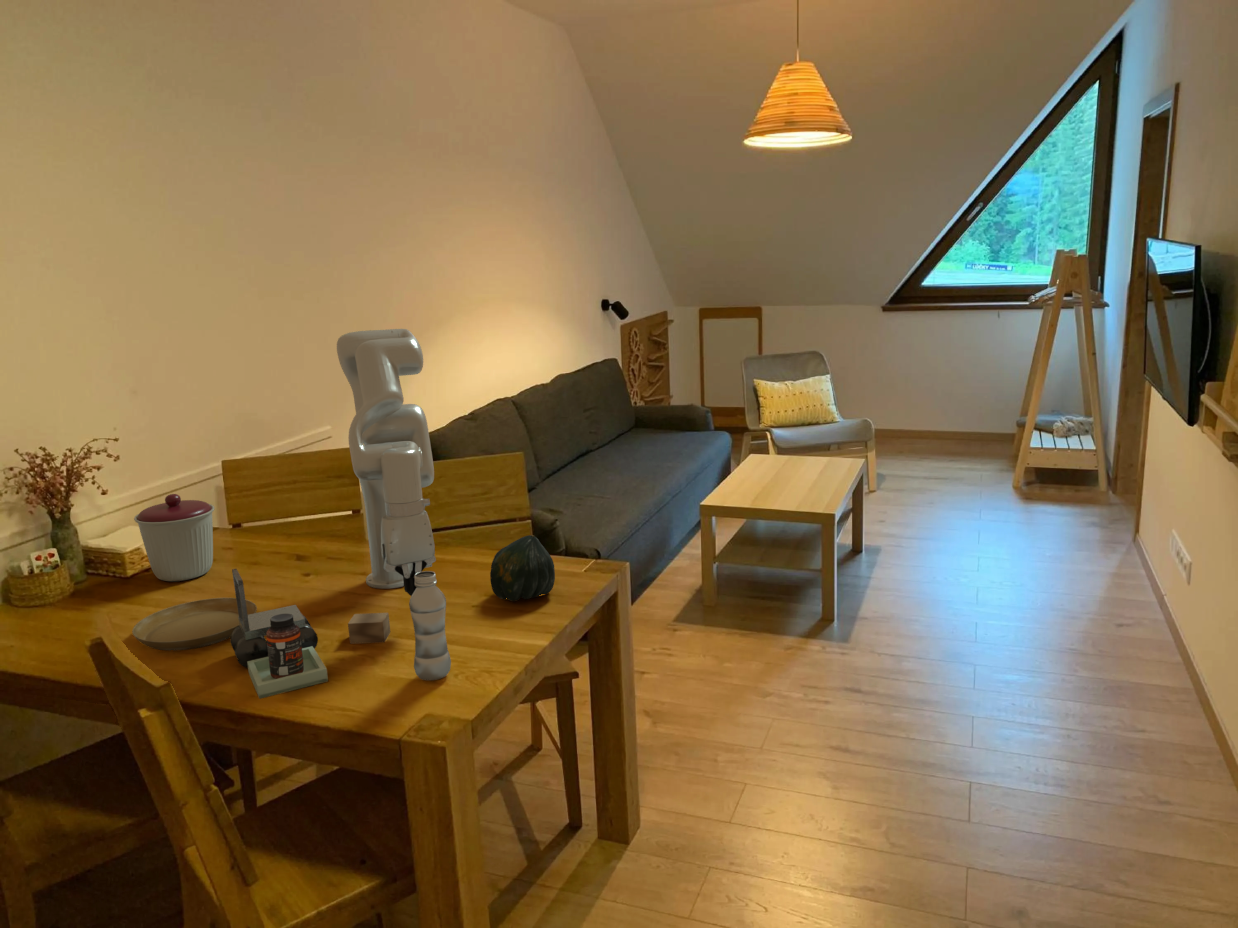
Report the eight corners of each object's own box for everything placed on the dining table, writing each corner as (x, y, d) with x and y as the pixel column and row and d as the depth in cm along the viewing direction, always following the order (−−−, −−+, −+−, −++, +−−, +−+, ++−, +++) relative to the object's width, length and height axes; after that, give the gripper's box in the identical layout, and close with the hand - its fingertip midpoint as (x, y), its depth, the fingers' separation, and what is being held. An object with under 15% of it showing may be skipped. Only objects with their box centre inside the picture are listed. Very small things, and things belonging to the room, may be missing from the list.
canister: (238, 569, 230) (227, 489, 225) (171, 592, 215) (157, 507, 210) (196, 558, 239) (184, 482, 234) (129, 580, 224) (115, 499, 220)
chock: (390, 632, 187) (388, 612, 186) (384, 642, 182) (382, 622, 181) (356, 634, 187) (354, 613, 186) (350, 644, 182) (347, 623, 181)
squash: (468, 574, 203) (497, 533, 195) (514, 558, 215) (543, 519, 207) (503, 624, 199) (535, 584, 191) (548, 604, 211) (580, 566, 202)
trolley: (309, 636, 186) (300, 556, 182) (319, 652, 178) (309, 568, 174) (232, 654, 178) (220, 571, 174) (238, 671, 171) (226, 584, 167)
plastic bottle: (417, 670, 169) (408, 569, 164) (453, 667, 169) (445, 567, 165) (412, 686, 162) (402, 581, 158) (450, 683, 163) (441, 579, 158)
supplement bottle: (291, 682, 164) (284, 624, 162) (263, 679, 166) (256, 621, 163) (311, 668, 170) (304, 612, 167) (284, 665, 171) (277, 609, 169)
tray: (314, 657, 176) (312, 645, 175) (328, 681, 166) (326, 668, 165) (248, 673, 170) (247, 661, 169) (259, 698, 160) (257, 685, 159)
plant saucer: (116, 636, 190) (113, 622, 190) (227, 602, 208) (225, 589, 207) (163, 667, 174) (161, 651, 174) (279, 627, 192) (277, 613, 191)
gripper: (433, 499, 190) (441, 581, 193) (363, 510, 182) (372, 596, 186) (445, 505, 183) (453, 591, 187) (373, 518, 176) (382, 606, 180)
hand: (412, 593), depth 186 cm, fingers closed
